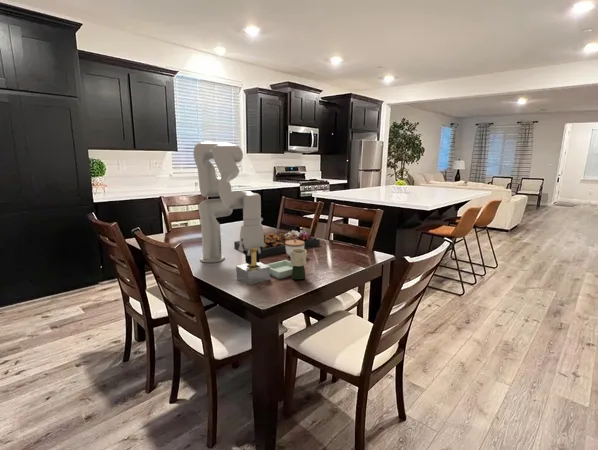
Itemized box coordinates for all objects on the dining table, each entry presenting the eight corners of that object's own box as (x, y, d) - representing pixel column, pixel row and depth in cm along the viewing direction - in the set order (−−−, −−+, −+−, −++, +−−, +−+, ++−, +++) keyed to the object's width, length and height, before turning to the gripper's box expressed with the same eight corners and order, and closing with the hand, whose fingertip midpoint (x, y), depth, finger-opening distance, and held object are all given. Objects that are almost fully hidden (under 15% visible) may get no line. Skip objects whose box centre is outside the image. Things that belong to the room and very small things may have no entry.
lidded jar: (300, 259, 182) (300, 242, 180) (281, 257, 185) (281, 240, 183) (307, 254, 191) (307, 238, 190) (289, 252, 195) (289, 236, 193)
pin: (245, 277, 153) (245, 246, 150) (254, 274, 156) (254, 244, 153) (251, 280, 150) (250, 248, 147) (259, 277, 153) (259, 247, 150)
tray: (262, 271, 163) (262, 265, 163) (285, 265, 172) (285, 259, 171) (279, 278, 153) (278, 272, 153) (302, 272, 162) (302, 266, 162)
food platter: (295, 238, 230) (295, 223, 228) (319, 246, 211) (319, 230, 209) (234, 248, 203) (233, 231, 201) (255, 259, 184) (255, 240, 182)
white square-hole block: (236, 278, 153) (236, 265, 152) (257, 273, 160) (257, 261, 159) (248, 285, 146) (248, 271, 144) (270, 279, 153) (270, 266, 152)
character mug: (311, 281, 151) (311, 252, 148) (296, 283, 148) (296, 254, 145) (300, 273, 160) (300, 246, 158) (286, 275, 157) (286, 248, 155)
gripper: (263, 218, 156) (263, 257, 160) (230, 222, 145) (231, 264, 149) (272, 221, 150) (272, 261, 154) (239, 225, 140) (240, 268, 144)
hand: (252, 262), depth 152 cm, fingers closed on pin, 3 cm apart
